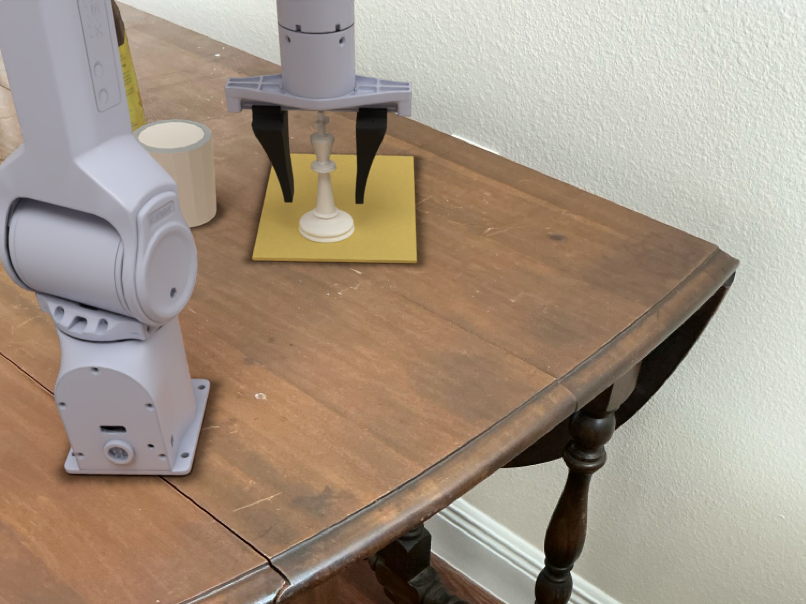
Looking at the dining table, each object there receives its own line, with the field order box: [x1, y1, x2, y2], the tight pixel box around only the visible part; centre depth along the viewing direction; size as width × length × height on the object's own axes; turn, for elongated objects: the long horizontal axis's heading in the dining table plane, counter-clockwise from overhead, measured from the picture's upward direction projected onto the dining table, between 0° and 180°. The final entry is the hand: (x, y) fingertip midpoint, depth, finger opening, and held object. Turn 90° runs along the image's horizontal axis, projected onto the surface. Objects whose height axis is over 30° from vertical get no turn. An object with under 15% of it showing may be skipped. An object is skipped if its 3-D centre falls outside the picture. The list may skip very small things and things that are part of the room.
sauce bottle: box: [111, 0, 148, 133], centre depth 76 cm, size 6×6×20 cm
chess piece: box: [299, 111, 354, 243], centre depth 71 cm, size 5×5×10 cm
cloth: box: [251, 152, 418, 264], centre depth 78 cm, size 20×14×1 cm
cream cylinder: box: [133, 118, 218, 228], centre depth 74 cm, size 7×7×7 cm
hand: (324, 198), depth 73 cm, fingers open, 5 cm apart
